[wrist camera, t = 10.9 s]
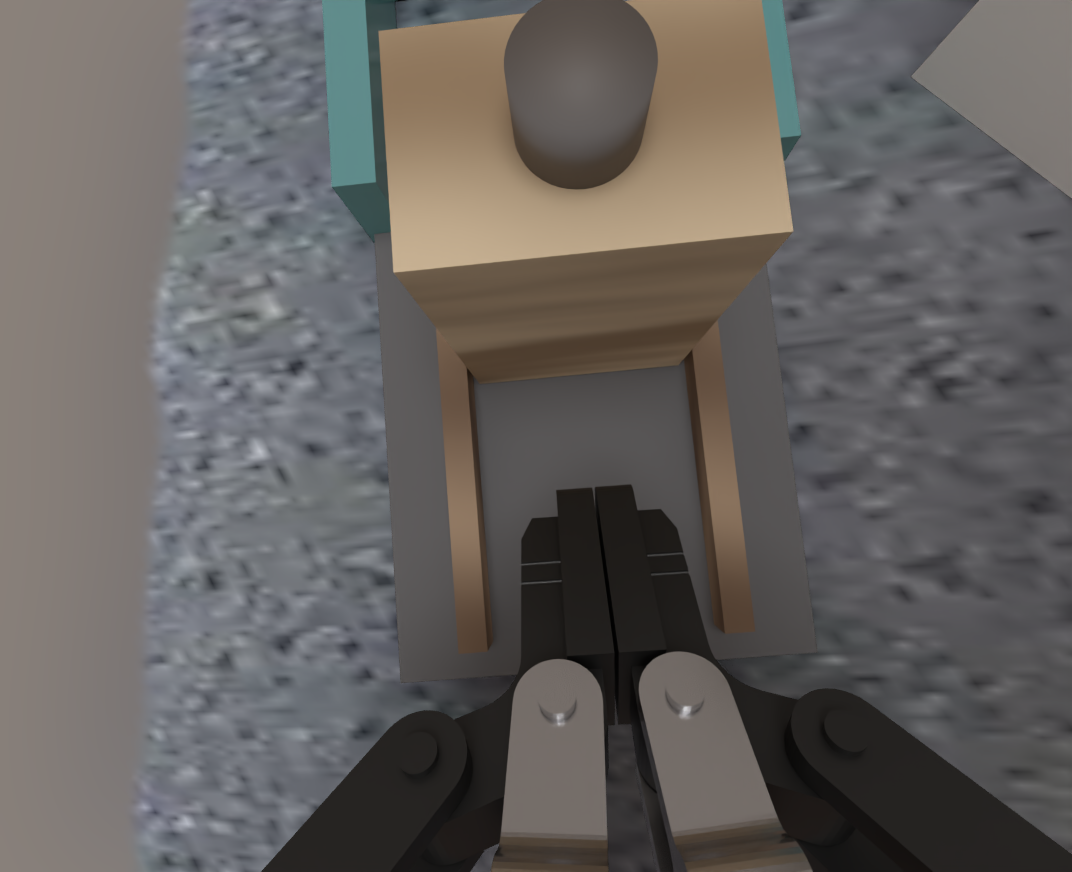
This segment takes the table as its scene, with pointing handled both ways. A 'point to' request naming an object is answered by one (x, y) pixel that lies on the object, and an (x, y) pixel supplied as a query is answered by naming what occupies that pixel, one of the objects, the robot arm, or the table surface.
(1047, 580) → the table surface
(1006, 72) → the milk
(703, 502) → the channel
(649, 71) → the tan rectangular block
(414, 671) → the mat
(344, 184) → the teal u-shaped frame
